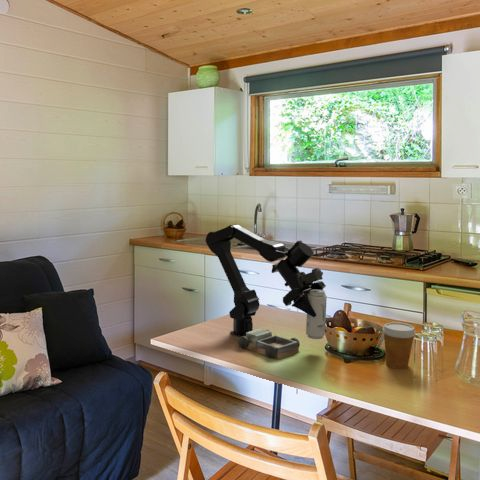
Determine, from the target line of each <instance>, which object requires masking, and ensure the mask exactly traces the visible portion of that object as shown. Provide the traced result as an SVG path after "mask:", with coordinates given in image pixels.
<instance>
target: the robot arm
mask: <svg viewBox="0 0 480 480" xmlns="http://www.w3.org/2000/svg"><path fill="white" fill-rule="evenodd" d="M234 239H236V240H238V241H239V242H241V243H243V244H245V245H247V246H248V247H250V248H252V249H254V250H255V251H257V252H258V254H259V255H260V256H261V257H262V258H263V259H264V260H266V261H267V262H270V263H272V262H273V263H274V262H277V261H278V262H277V263H275V264H272V265H271V266H272V269H271V274H274V273H279V275H280V276H281V277H282V279H283V281H285V283H284V284H283V285H284V286H285V287H289V289H290V290H289V291H288V292H287V293H285V295H284V296H282V302H283V304H284V305H285V307H288V306H292V307H294V308H296V309H298V310H300V311H302V312H304V313H306V315H307V314H309V315H311V316H312V317H315V316H316V313H315V311H314V310H313V308H312V306H311V305H310V303H309V301H308V294H309V292H310V290H313V289H318V290H324V288H326V287H327V285H326V284H325V283H324V281H322V280H323V279H324V278H323V276H324V272H323V271H322V270H321V269H320V268H319V267H316V268H313V269H311V272H308V273H305V271H300V270H299V268H301V267H303V266H304V265H305V264H306V263H307V262H308V261H309V260H310V259H311V258H312V257H313V256H314V251H313V249H312V247H310V246H309V245H308V244H306V243H305V242H303V241H302V240H297V241H296V242H295V243H294V244H293V245H292V246H291V247H289V248H288V247H286V246H285V244H283V243H281V242H277V241H275V240H270V239H269V240H268V239H265V238H263V237H261V236H259V235H258V234H255V233H254V232H251V231H250V230H248V229H246V228H244V227H242V226H241V225H240V224H229V225H227V226H226V227H224V228H221V229H219V230H216V231H209V232H208V233H207V234H206V236H205V240H204V241H205V244H206V246H208V248H209V250H210V252H211V253H213V254H214V255H215V256H216V257H217V258H218V260H219V263H220V265H221V266H222V270H224V273H225V276H226V278H227V280H228V283H229V285H230V287H231V289H232V291H233V304H234V307H233V308H232V309H231V310H230V311H229V312H228V314H229V317H230V318H231V319H233V328H232V329H233V330H232V331H230V332H229V333H230V334H232V335H235V336H238V337H239V338H240V337H242V336H246V332H250V331H253V330H254V329H253V328H254V326H253V325H254V323H253V316H256V314H257V311H258V310H259V308H260V301H259V300H260V297H258V295H257V292H256V290H255V289H249V288H248V287H247V285H246V283H245V280H244V278H243V275H242V274H241V271H240V269H239V267H238V264H237V263H236V261H235V258H234V256H233V254H232V252H231V246H232V245H231V244H232V242H231V241H232V240H234ZM298 267H299V268H298ZM292 302H293V303H292Z"/></svg>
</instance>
